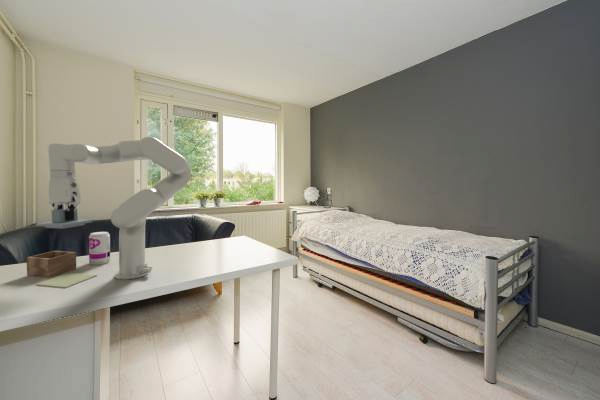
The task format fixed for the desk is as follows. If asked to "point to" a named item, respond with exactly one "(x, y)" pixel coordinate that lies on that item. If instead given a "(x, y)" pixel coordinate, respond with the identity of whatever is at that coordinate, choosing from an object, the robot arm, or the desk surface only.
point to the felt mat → (66, 280)
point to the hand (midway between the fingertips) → (65, 219)
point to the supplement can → (99, 248)
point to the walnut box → (51, 264)
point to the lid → (63, 220)
